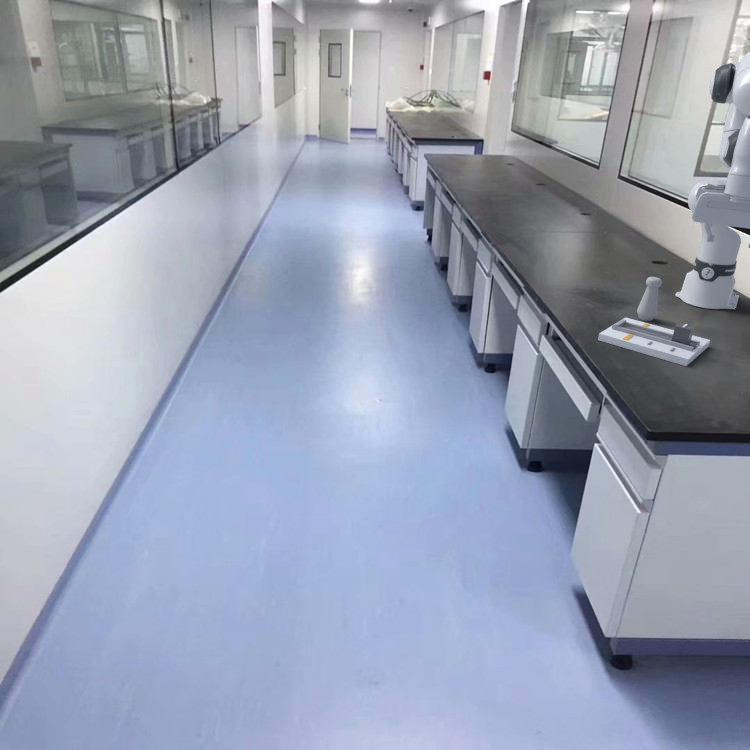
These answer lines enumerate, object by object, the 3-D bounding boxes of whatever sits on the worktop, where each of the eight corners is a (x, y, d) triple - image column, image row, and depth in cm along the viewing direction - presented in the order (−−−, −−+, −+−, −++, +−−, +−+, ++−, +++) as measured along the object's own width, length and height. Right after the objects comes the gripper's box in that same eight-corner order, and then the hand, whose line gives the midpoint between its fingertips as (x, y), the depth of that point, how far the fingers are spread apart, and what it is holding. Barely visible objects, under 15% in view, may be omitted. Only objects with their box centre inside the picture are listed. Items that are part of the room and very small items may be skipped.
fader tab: (674, 340, 170) (679, 321, 168) (689, 344, 168) (694, 325, 166) (670, 343, 169) (675, 324, 166) (686, 347, 166) (691, 328, 164)
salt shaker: (650, 315, 194) (660, 275, 188) (659, 322, 188) (668, 281, 183) (632, 315, 193) (641, 274, 188) (640, 322, 188) (649, 280, 182)
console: (624, 323, 187) (626, 312, 185) (708, 346, 172) (711, 335, 171) (597, 340, 175) (600, 328, 173) (686, 366, 160) (689, 353, 159)
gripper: (696, 184, 152) (683, 240, 158) (793, 193, 142) (775, 253, 147) (701, 182, 157) (688, 236, 163) (795, 190, 146) (778, 248, 152)
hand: (730, 244), depth 155 cm, fingers open, 8 cm apart
